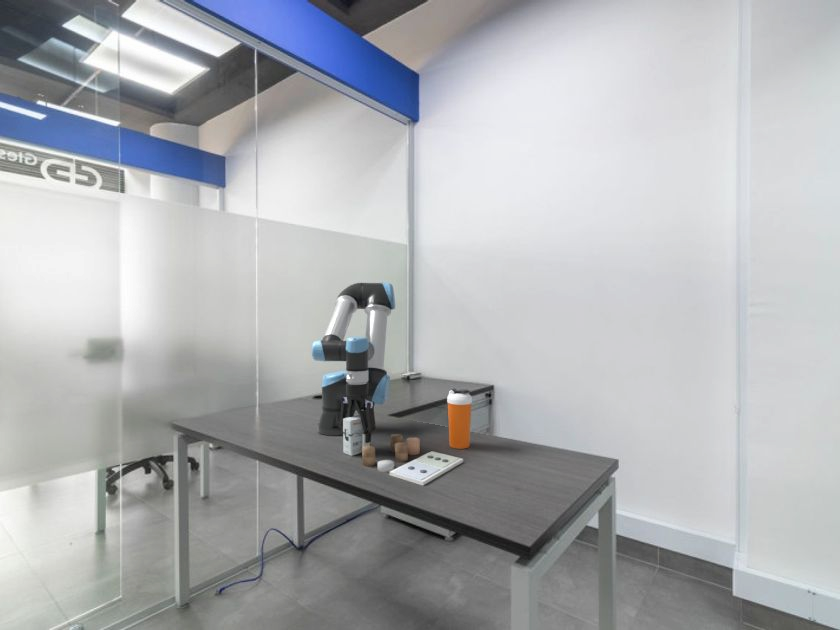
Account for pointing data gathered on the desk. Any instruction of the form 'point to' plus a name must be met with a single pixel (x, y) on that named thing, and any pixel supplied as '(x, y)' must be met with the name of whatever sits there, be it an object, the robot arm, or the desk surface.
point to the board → (426, 467)
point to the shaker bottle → (459, 418)
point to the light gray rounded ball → (385, 466)
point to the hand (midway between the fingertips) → (357, 449)
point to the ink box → (352, 435)
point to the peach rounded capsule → (413, 446)
